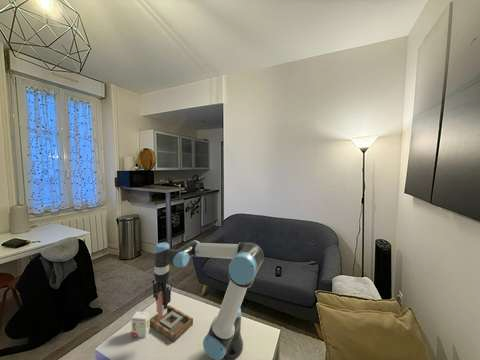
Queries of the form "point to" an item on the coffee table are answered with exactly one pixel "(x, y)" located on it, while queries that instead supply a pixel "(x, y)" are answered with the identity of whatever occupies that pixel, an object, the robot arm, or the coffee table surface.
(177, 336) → the tray
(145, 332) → the ink box
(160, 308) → the peg
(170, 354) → the coffee table surface
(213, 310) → the coffee table surface
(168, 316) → the socket
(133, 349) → the coffee table surface
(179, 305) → the coffee table surface
